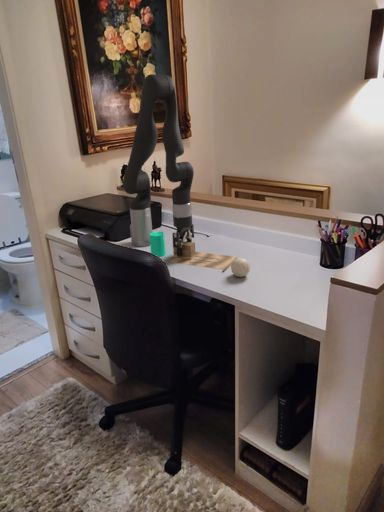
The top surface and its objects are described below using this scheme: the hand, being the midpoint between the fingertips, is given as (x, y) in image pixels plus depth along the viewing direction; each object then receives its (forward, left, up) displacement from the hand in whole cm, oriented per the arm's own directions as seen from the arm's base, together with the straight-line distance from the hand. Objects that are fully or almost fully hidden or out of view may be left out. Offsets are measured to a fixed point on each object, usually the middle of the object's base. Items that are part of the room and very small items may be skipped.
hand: (184, 252), depth 156 cm
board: (+8, 0, -3) cm, 8 cm away
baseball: (+27, -8, -3) cm, 28 cm away
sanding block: (0, 0, -2) cm, 2 cm away
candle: (-12, -1, -3) cm, 13 cm away
